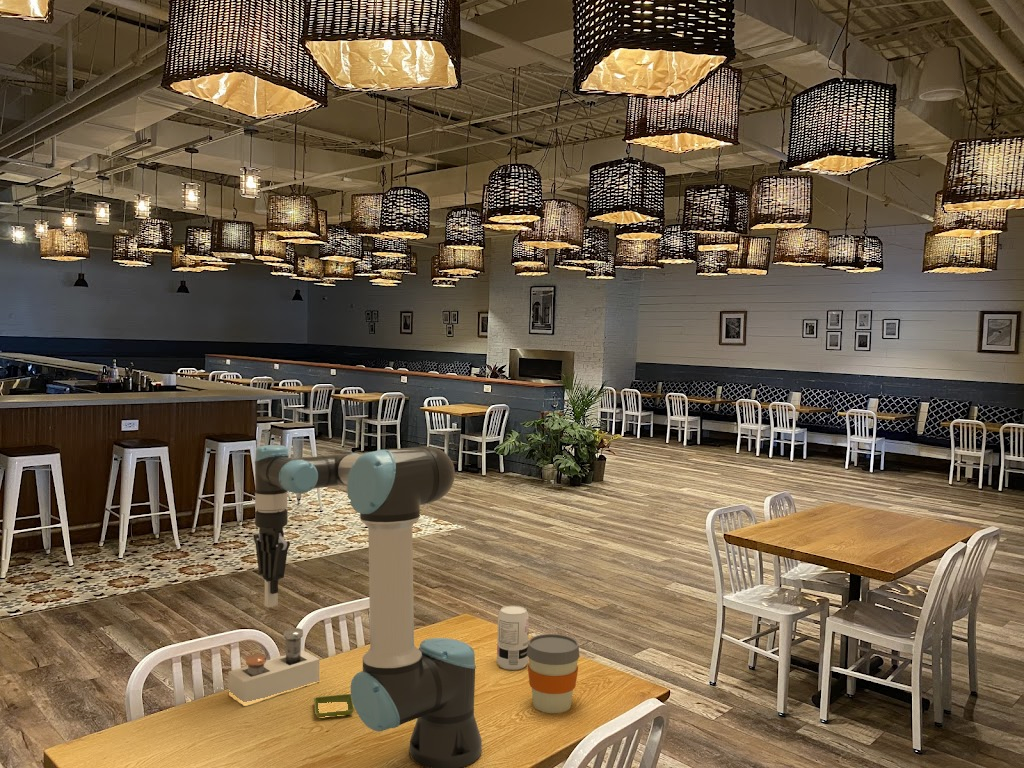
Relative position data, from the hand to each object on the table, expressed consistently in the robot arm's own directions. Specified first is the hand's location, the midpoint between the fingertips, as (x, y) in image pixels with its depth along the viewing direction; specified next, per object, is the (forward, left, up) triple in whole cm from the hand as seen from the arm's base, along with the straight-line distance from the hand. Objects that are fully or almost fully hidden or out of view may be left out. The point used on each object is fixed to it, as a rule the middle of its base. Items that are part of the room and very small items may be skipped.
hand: (271, 605), depth 194 cm
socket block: (+1, 0, -21) cm, 21 cm away
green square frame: (-5, -19, -22) cm, 30 cm away
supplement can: (+33, -52, -21) cm, 66 cm away
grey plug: (+5, -3, -16) cm, 17 cm away
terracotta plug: (-3, +2, -20) cm, 21 cm away
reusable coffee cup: (+13, -67, -21) cm, 72 cm away
